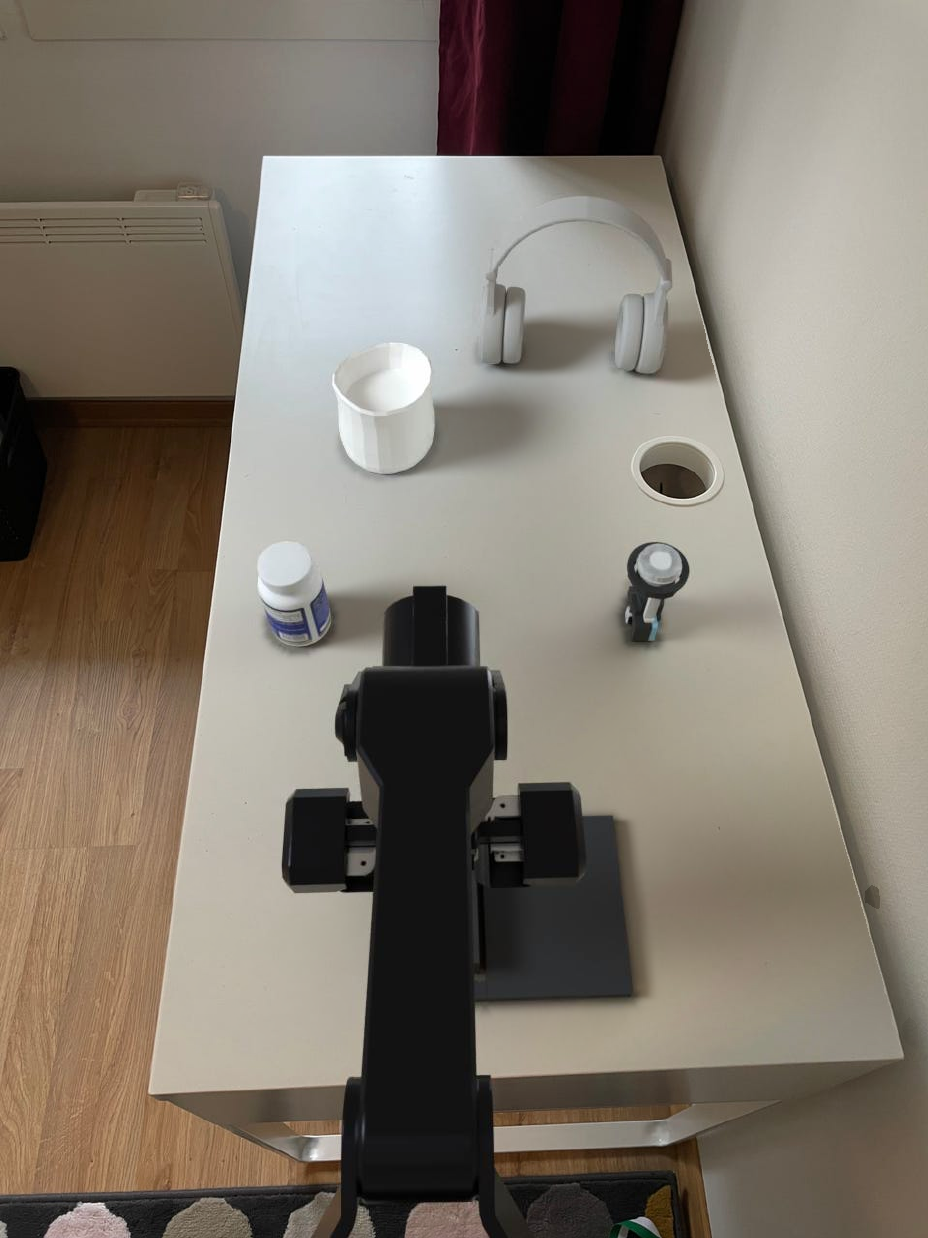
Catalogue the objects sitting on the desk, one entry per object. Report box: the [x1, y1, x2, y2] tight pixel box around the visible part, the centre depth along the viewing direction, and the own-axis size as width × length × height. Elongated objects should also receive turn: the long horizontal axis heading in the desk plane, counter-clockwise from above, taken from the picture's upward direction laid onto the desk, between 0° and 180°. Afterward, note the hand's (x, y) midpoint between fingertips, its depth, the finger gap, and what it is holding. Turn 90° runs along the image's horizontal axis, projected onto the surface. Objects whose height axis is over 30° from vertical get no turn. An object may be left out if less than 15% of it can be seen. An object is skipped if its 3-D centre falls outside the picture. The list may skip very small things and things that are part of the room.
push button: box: [624, 541, 691, 642], centre depth 86 cm, size 7×5×10 cm
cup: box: [331, 341, 436, 475], centre depth 97 cm, size 10×10×10 cm
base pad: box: [474, 814, 634, 1003], centre depth 76 cm, size 14×18×1 cm
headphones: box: [477, 195, 674, 375], centre depth 100 cm, size 20×8×19 cm, turn 85°
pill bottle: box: [256, 540, 332, 647], centre depth 86 cm, size 6×6×10 cm
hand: (436, 873), depth 68 cm, fingers open, 5 cm apart
